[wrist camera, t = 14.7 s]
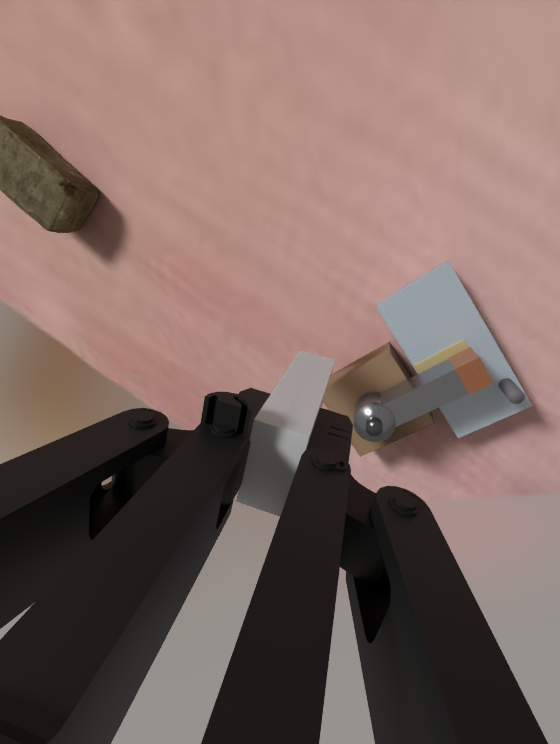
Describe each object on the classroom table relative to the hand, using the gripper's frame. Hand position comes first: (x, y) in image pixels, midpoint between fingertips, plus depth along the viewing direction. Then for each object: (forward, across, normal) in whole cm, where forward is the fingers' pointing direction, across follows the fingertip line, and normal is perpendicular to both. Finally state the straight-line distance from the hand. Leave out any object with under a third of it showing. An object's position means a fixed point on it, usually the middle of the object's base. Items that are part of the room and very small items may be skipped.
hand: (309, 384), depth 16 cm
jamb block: (+24, +5, -9) cm, 27 cm away
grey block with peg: (+24, +11, -2) cm, 27 cm away
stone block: (+25, -34, +4) cm, 42 cm away
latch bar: (+20, +8, -6) cm, 23 cm away
